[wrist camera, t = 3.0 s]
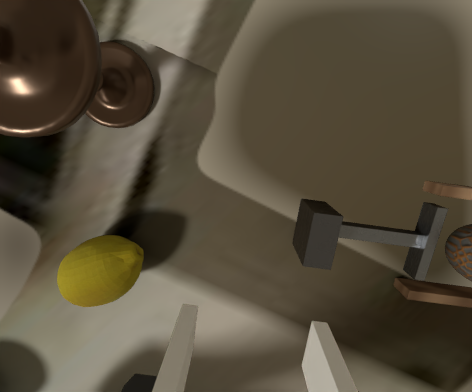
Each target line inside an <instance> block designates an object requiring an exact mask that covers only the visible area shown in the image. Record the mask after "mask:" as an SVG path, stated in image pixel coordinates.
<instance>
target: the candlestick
mask: <svg viewBox="0 0 472 392" xmlns="http://www.w3.org/2000/svg"><path fill="white" fill-rule="evenodd" d="M153 99H154V82H153V77H152V75H151V72H150V70H149V68H148V66H147V64H146V63H145V62H144V60H143V59H142V58H141V57H140V56H139V55H138V54H136V53H135V52H134V51H133V50H131V49H130V48H128V47H126V46H124V45H122V44H119V43H116V42H99V37H98V32H97V30H96V27H95V25H94V22H93V19H92V17H91V15H90V13H89V11H88V9H87V8H86V6H85V4H84V3H83V1H82V0H0V134H4V135H7V136H18V137H38V136H47V135H52V134H55V133H58V132H60V131H63V130H65V129H66V128H68V127H70V126H71V125H73V124H75V123H76V122H77V121H78V120H79V119H80V118H81V117H82V116H83V115H84V114H86V115H87V116H88V117H89V118H91V119H92V120H93V121H95V122H97V123H99V124H100V125H103V126H107V127H113V128H124V127H129V126H132V125H135V124H136V123H138V122H140V121H141V120H142V119H143V118H144V117H145V116H146V115H147V113H148V112H149V110H150V108H151V106H152V103H153Z"/></svg>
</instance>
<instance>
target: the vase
mask: <svg viewBox="0 0 472 392" xmlns="http://www.w3.org/2000/svg"><path fill="white" fill-rule="evenodd" d="M445 253H446V257H447V259H448V261H449V262H450V264H451V265H452V266H453V268H455V270H456V271H457V272H459V273H460V274H461V275H462V276H464V277H466V278H467V279H469V280H470V281H472V224H470V225H466V226H463V227H460V228H458V229H457V230H455V231H454V232H453V233H452V234H451V235H450V236H449V237H448V239H447V241H446V245H445Z"/></svg>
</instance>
